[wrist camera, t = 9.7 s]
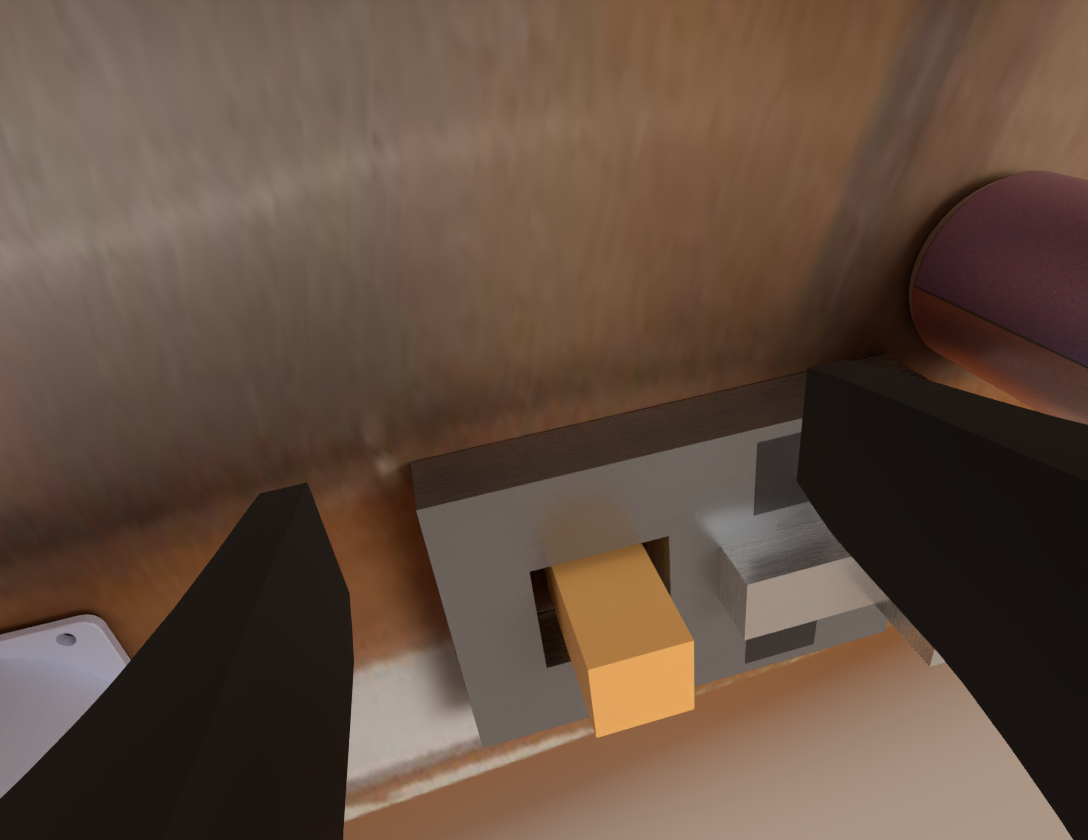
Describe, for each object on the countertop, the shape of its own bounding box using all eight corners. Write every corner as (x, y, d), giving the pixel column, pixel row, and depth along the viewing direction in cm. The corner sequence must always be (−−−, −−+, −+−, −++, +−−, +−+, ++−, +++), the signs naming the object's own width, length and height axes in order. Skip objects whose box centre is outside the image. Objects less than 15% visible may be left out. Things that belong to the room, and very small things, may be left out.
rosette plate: (473, 692, 26) (483, 748, 24) (410, 462, 20) (416, 511, 18) (848, 587, 28) (885, 631, 26) (886, 353, 23) (938, 386, 21)
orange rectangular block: (547, 591, 25) (596, 737, 20) (538, 528, 23) (587, 670, 18) (626, 570, 25) (694, 709, 20) (622, 507, 23) (693, 640, 18)
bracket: (719, 600, 23) (787, 709, 20) (720, 545, 22) (794, 652, 18) (887, 554, 24) (982, 650, 20) (898, 499, 23) (1002, 592, 19)
